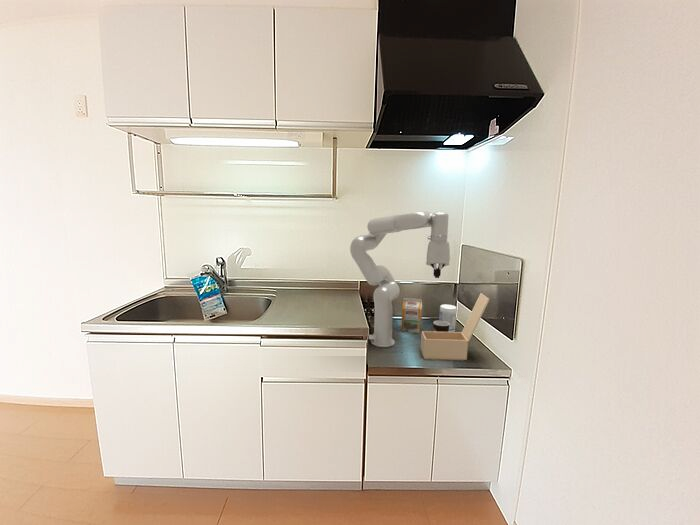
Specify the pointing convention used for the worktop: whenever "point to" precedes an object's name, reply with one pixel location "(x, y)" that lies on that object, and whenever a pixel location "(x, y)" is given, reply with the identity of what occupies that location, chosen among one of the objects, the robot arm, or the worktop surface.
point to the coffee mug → (441, 326)
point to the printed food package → (411, 316)
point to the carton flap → (475, 316)
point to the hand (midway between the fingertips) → (436, 277)
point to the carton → (444, 345)
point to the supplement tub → (448, 315)
